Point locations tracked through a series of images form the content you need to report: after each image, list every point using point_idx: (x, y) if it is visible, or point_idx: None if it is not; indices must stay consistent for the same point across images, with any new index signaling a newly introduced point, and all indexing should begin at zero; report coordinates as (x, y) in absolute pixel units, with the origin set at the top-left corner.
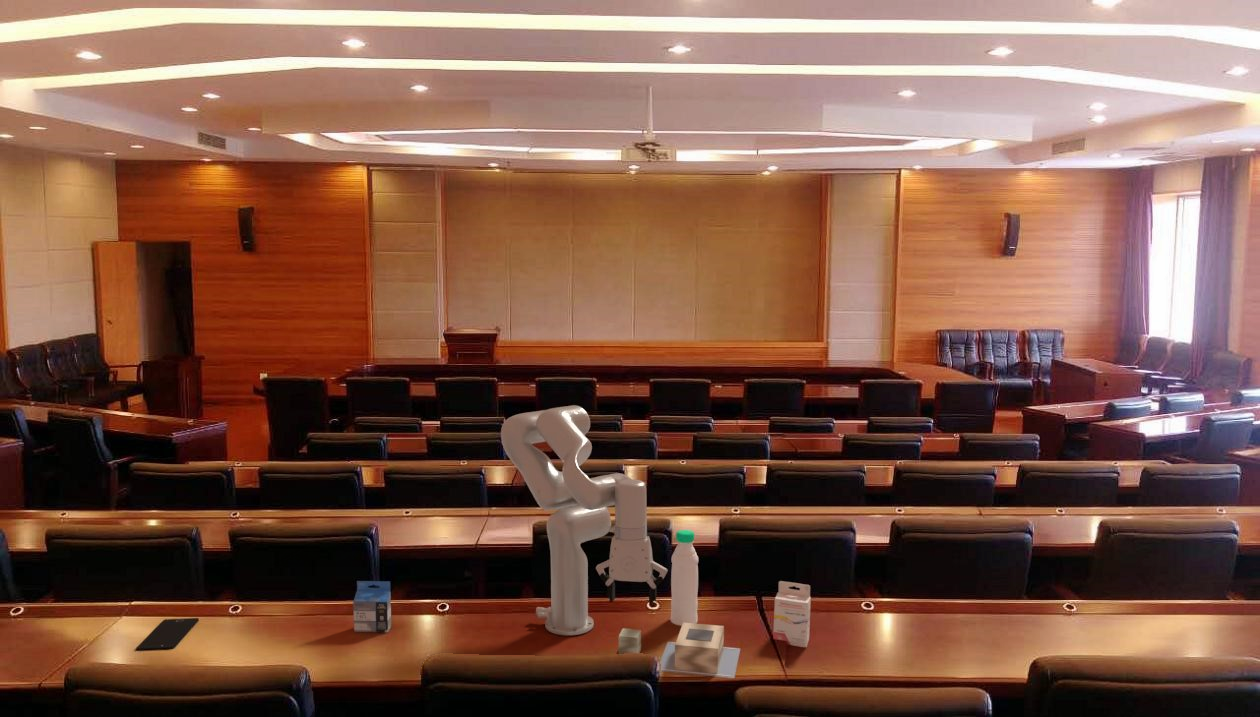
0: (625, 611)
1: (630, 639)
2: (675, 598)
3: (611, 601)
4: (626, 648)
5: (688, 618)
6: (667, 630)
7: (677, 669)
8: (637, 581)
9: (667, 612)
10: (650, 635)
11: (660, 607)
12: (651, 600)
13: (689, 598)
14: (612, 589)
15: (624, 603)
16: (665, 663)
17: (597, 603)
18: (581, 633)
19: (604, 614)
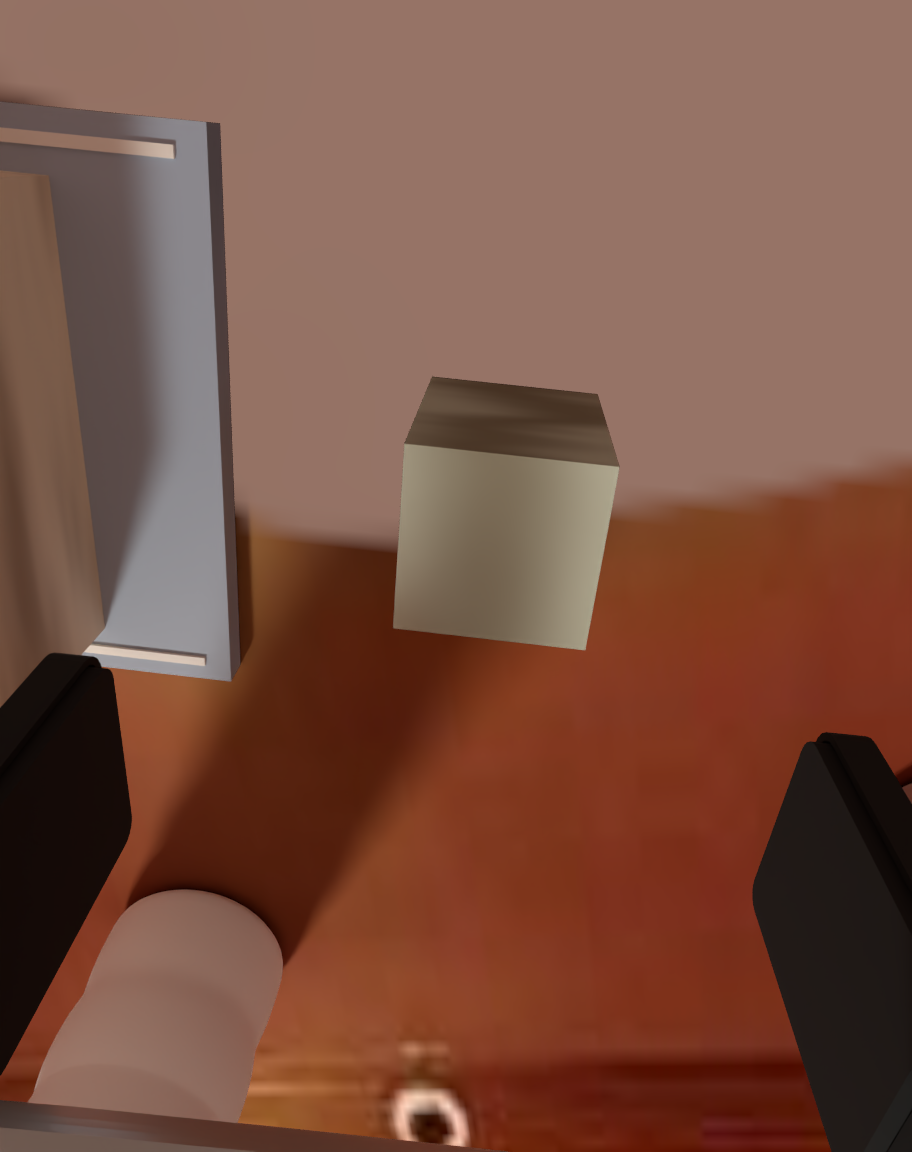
0: (589, 1063)
1: (484, 441)
2: (173, 1101)
3: (834, 734)
4: (527, 416)
5: (129, 945)
6: (288, 863)
7: (22, 173)
8: (97, 1112)
9: (332, 1056)
10: (390, 796)
11: (383, 1103)
12: (18, 699)
13: (52, 1095)
14: (906, 952)
15: (601, 1139)
16: (159, 289)
17: (768, 1139)
18: (907, 785)
19: (724, 1031)
